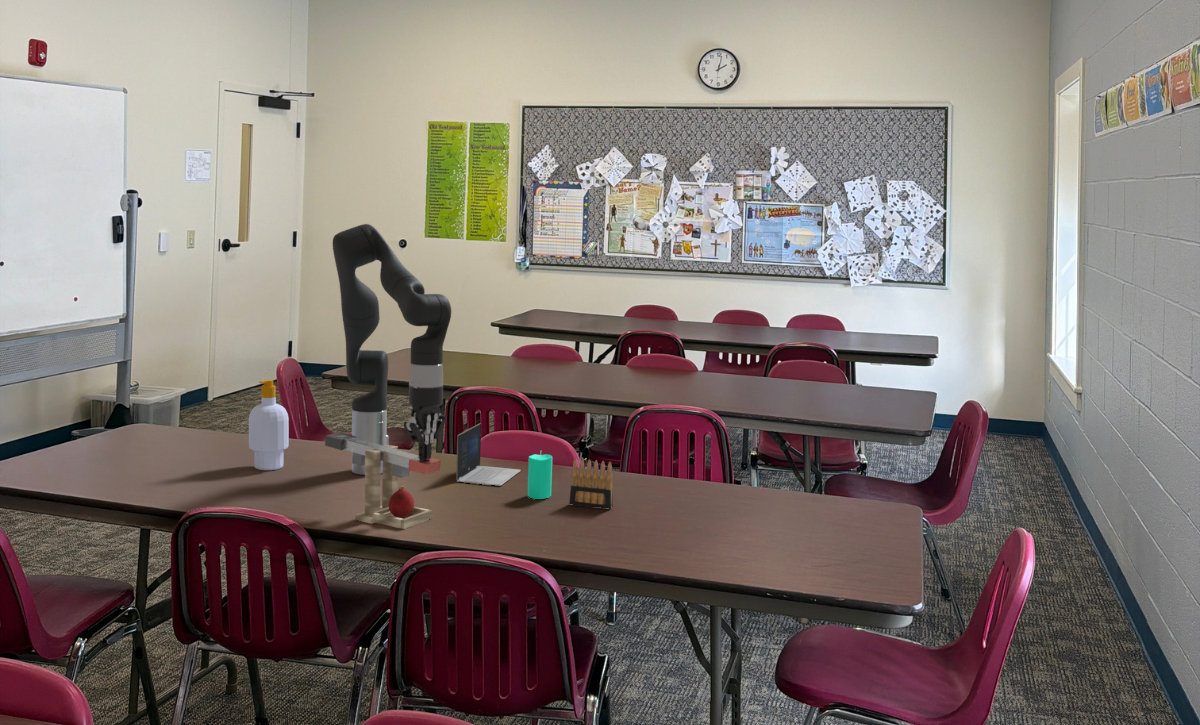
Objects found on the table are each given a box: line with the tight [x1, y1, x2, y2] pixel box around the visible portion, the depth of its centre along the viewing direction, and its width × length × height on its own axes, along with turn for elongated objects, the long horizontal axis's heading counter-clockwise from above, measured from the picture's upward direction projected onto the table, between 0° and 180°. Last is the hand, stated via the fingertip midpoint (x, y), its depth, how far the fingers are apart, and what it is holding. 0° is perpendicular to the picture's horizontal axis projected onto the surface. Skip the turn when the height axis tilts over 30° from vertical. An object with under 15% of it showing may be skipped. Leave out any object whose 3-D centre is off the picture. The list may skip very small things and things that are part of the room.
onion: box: [389, 485, 415, 519], centre depth 231 cm, size 6×6×8 cm
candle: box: [527, 451, 553, 500], centre depth 255 cm, size 6×6×12 cm
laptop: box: [455, 422, 521, 487], centre depth 273 cm, size 18×12×13 cm
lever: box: [324, 431, 442, 479], centre depth 232 cm, size 30×5×5 cm, turn 62°
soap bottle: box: [248, 379, 290, 471], centre depth 273 cm, size 10×10×24 cm
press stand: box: [354, 444, 433, 530], centre depth 231 cm, size 14×12×16 cm
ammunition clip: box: [568, 457, 614, 510], centre depth 248 cm, size 11×2×12 cm, turn 75°
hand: (424, 459), depth 226 cm, fingers closed
